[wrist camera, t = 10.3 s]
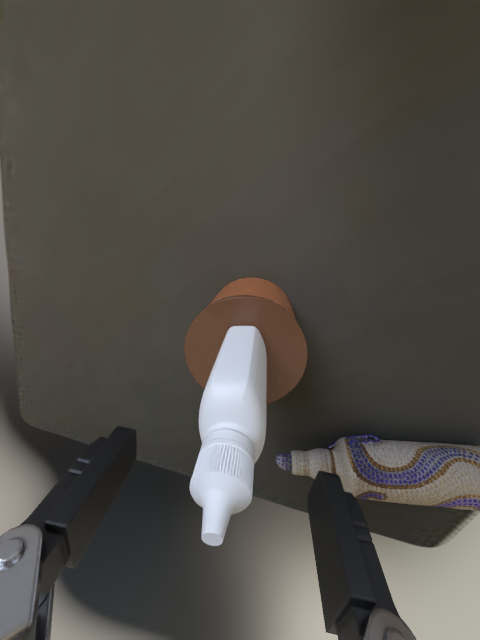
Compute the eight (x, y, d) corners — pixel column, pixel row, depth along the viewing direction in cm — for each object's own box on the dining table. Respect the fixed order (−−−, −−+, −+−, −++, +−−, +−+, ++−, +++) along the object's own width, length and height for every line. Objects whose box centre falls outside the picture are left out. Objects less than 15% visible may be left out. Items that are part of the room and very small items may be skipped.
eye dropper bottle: (206, 370, 20) (126, 553, 8) (235, 314, 18) (180, 458, 6) (253, 392, 20) (234, 598, 9) (287, 340, 18) (319, 520, 7)
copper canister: (215, 267, 26) (189, 285, 17) (305, 284, 25) (323, 310, 17) (205, 347, 29) (180, 393, 21) (283, 362, 29) (290, 416, 20)
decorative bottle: (486, 430, 29) (546, 484, 23) (467, 472, 32) (515, 532, 25) (275, 418, 32) (277, 463, 26) (274, 458, 34) (276, 508, 28)
